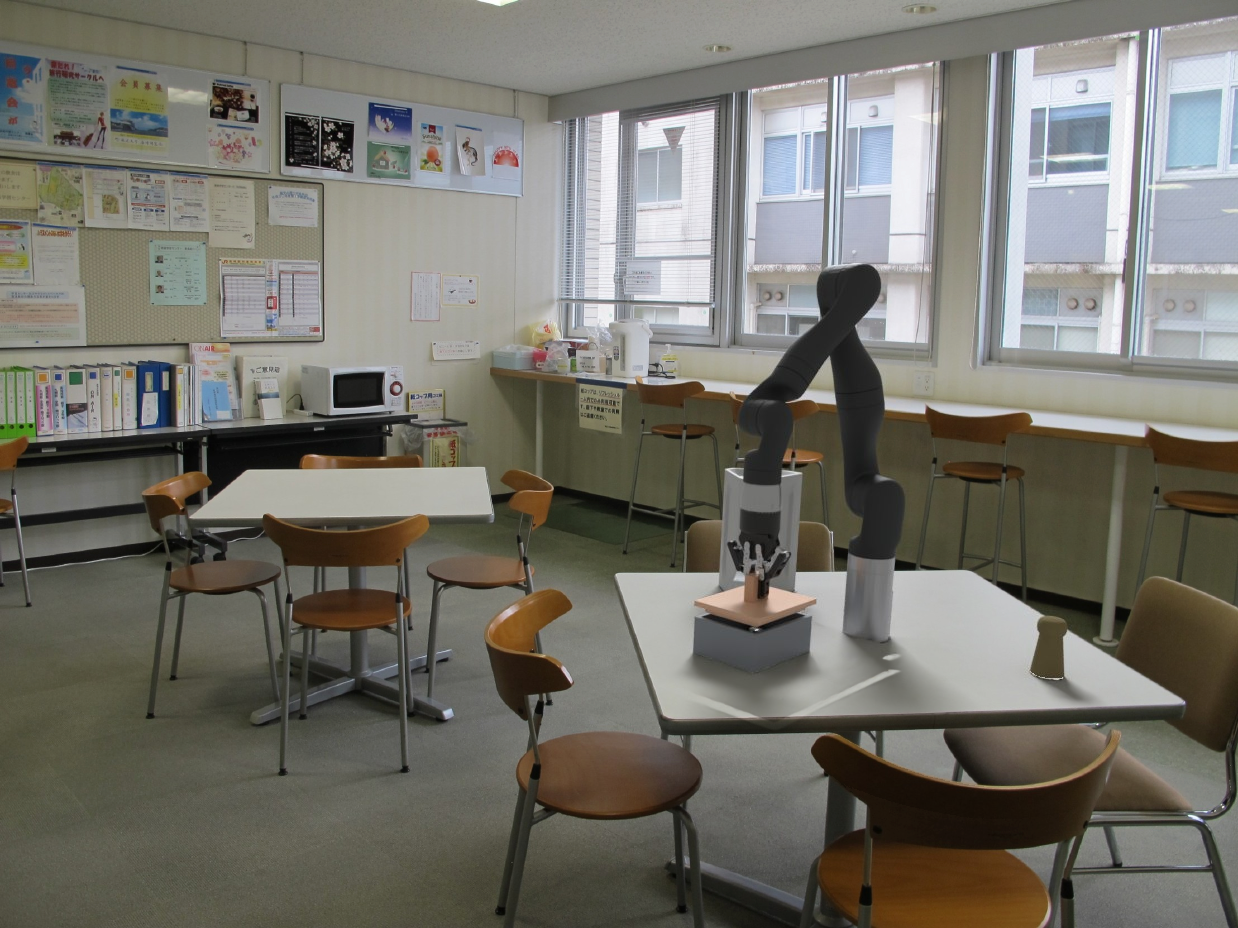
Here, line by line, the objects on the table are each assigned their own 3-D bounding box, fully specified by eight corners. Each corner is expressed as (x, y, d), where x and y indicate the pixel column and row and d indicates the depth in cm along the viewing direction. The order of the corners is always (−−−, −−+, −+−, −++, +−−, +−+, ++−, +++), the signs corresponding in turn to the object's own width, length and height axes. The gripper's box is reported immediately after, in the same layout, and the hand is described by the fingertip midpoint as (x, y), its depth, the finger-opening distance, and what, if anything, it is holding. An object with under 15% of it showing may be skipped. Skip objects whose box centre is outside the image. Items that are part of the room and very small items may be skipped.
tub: (749, 637, 201) (752, 598, 199) (809, 655, 191) (812, 615, 190) (692, 657, 188) (694, 616, 186) (753, 678, 178) (755, 635, 177)
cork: (1061, 682, 182) (1068, 624, 180) (1026, 675, 185) (1032, 618, 183) (1066, 673, 187) (1073, 616, 185) (1032, 666, 190) (1038, 610, 188)
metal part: (754, 640, 196) (754, 626, 195) (766, 644, 193) (767, 629, 193) (744, 644, 193) (745, 629, 193) (757, 648, 191) (758, 633, 191)
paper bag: (744, 576, 247) (751, 464, 243) (796, 589, 237) (803, 473, 233) (697, 590, 233) (703, 472, 228) (749, 605, 223) (757, 481, 219)
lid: (753, 593, 200) (754, 558, 198) (815, 609, 190) (818, 573, 189) (694, 611, 186) (695, 574, 185) (758, 630, 176) (760, 591, 175)
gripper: (803, 509, 183) (798, 601, 186) (742, 498, 192) (738, 585, 195) (780, 515, 177) (775, 609, 180) (718, 503, 187) (714, 592, 189)
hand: (756, 596), depth 187 cm, fingers closed on lid
